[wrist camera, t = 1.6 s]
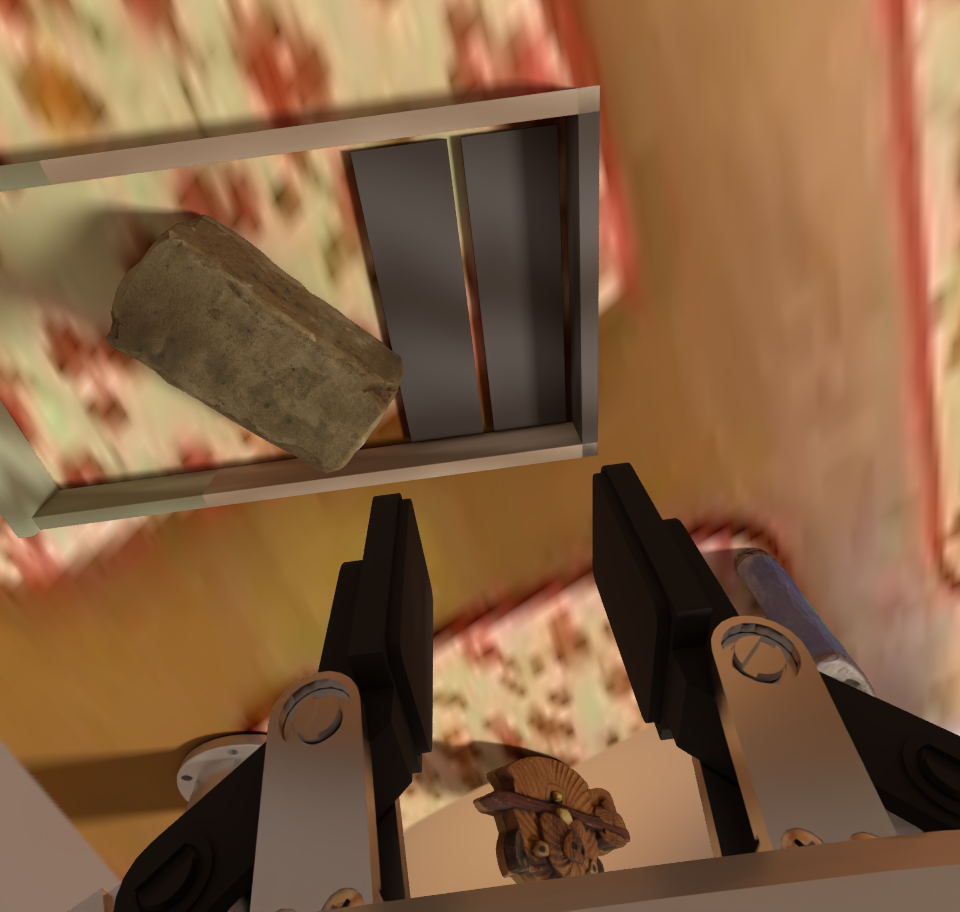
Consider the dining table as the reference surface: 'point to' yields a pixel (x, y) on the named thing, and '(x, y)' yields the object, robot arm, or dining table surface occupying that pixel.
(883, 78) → the dining table surface
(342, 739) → the robot arm
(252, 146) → the box
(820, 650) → the flask
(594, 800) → the wooden carving
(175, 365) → the stone block
